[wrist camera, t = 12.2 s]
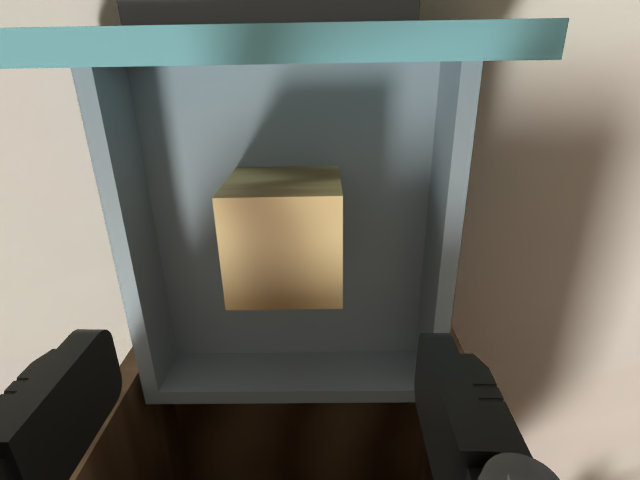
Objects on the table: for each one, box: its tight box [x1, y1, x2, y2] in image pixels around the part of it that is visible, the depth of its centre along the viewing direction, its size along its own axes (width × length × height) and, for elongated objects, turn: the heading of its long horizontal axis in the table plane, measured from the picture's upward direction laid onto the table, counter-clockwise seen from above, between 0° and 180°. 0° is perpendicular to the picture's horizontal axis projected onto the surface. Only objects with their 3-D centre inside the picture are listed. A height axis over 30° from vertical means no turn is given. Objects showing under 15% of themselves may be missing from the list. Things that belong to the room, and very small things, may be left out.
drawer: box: [0, 0, 569, 404], centre depth 20 cm, size 19×22×7 cm
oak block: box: [212, 165, 343, 310], centre depth 20 cm, size 5×5×5 cm
